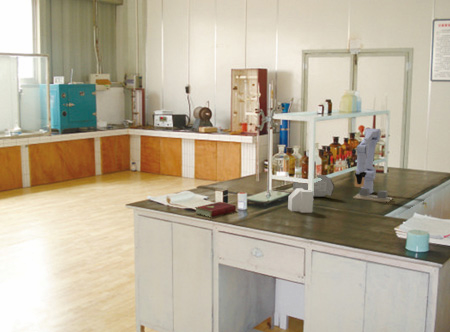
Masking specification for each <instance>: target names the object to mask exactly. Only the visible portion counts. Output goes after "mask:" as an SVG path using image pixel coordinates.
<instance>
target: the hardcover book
mask: <svg viewBox="0 0 450 332" xmlns="http://www.w3.org/2000/svg"><path fill="white" fill-rule="evenodd" d="M194 209H195V214H196V213H197V215H200V214H201V216H204V215H205V216H206V217H208V216H209V218H214V217H219V216H221V215H222V216H223V215H227V214H230V213H234V212H235V213H236V212H237V205H236V204H232V203H228V202H224V201H218V202H214V203H208V204H205V205H199V206H196V207H194ZM205 216H204V217H205Z"/></svg>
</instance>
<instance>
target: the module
mask: <svg viewBox="0 0 450 332" xmlns="http://www.w3.org/2000/svg"><path fill="white" fill-rule="evenodd" d="M354 187H357V188H361V187H364V177H363V178H362V182H361V184H357V178H356V176H355V177H354Z"/></svg>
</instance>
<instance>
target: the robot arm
mask: <svg viewBox="0 0 450 332" xmlns="http://www.w3.org/2000/svg"><path fill="white" fill-rule="evenodd" d="M381 132H382V131H381V129H380V128H370V127H369V128H368V127H366V128H365V129H364V138H363V139H362V140H361V141H360V143H359V144H358V145H357V146H356V157H357V159H356V168H354V171H355V172H354V175H355V177H356V178H357V184H361V182H362V178H363V177H364V187H360V189H361V188H366V189H369V195H372V194H373V193H374V192H375V190H374V180H375V179H376V175H377V170H376V167H374V166H373V165H374V161H375V153H376V147H377V144H378V143H379V142H380V140H381Z"/></svg>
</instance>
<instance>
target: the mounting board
mask: <svg viewBox="0 0 450 332" xmlns="http://www.w3.org/2000/svg"><path fill="white" fill-rule="evenodd" d="M371 195H372V196H376V195H375V194H371ZM387 197H388V198H390V199H389V200H386V199H378V198H370V197H362V196H356V195H354V196H353V197H352V198H353V199H356V200H365V201H371V202H380V203H386V202H387V203H386V204H388V203H389V202H390V200H391V201H392V200H393V199H394V197H390V196H387Z"/></svg>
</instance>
